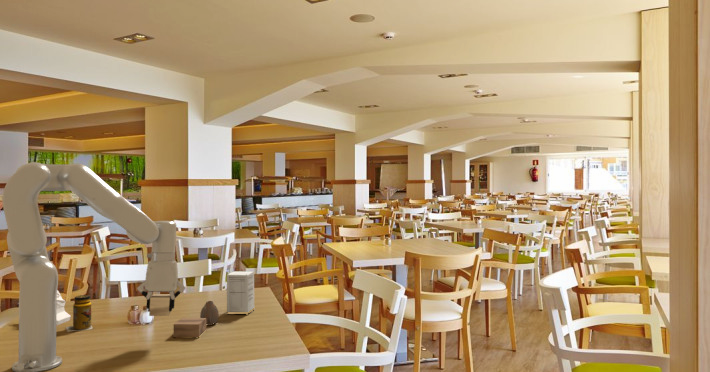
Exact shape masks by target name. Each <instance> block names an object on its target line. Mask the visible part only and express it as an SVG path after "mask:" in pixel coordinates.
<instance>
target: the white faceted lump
mask: <svg viewBox="0 0 710 372" xmlns="http://www.w3.org/2000/svg"><path fill="white" fill-rule="evenodd" d="M65 305H66V300H65V299H63V297H62V295H61V293H60V291H59V290H58V289H57V305H56V311H57V313H56V326H59V325H61V324H64V323H67V322H69V321H70V320H71V317H72V316H71V314H69V313H68V312H66V310H65Z"/></svg>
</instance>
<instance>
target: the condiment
mask: <svg viewBox="0 0 710 372" xmlns="http://www.w3.org/2000/svg"><path fill="white" fill-rule="evenodd" d="M73 300H74V303H73V305H72V309H73V310H72V325H71V326H66V327H65V330H66V332H67V333H70V332H76V331H87V330H93V329H94V327H93V326H92V302H91V296H90V295H89V294H82V295H76V296H75V297H74V299H73Z"/></svg>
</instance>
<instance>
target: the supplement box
mask: <svg viewBox="0 0 710 372" xmlns="http://www.w3.org/2000/svg"><path fill="white" fill-rule="evenodd" d="M253 308H254V309H255V271H239V270H237V271H235V270H234V271H232V272H230V273H228V274H226V313H227V312H249V311H250V310H252V309H253Z"/></svg>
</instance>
